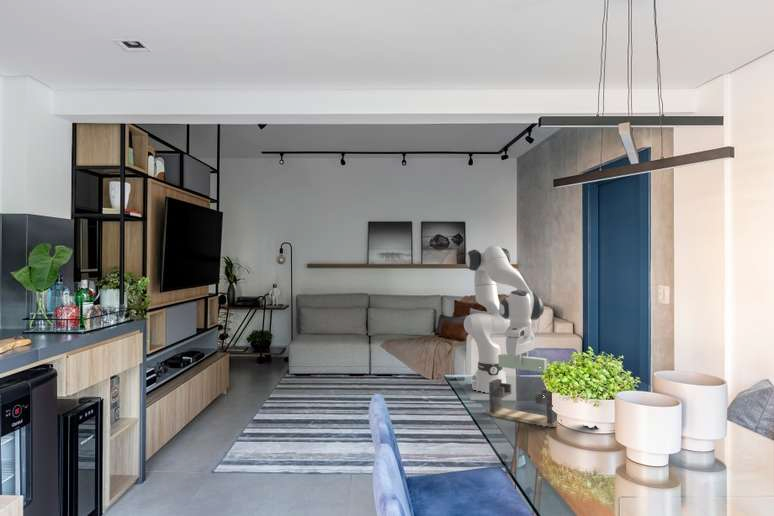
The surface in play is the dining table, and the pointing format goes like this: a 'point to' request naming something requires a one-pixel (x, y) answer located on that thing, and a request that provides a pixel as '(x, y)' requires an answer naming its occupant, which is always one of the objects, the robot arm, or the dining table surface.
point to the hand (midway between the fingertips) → (522, 363)
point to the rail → (528, 363)
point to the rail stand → (502, 390)
